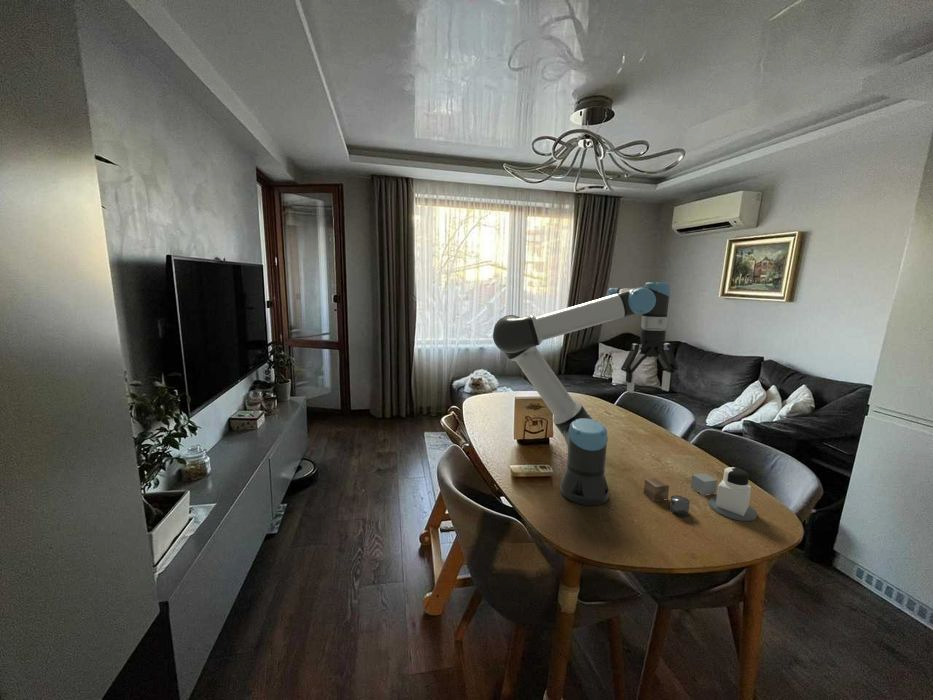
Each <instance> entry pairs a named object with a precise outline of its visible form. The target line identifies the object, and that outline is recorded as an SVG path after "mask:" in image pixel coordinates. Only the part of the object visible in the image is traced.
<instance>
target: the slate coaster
mask: <svg viewBox="0 0 933 700" xmlns="http://www.w3.org/2000/svg"><path fill="white" fill-rule="evenodd" d="M716 500H717V496H713V497H710V498H709V500H708V505H710V506H709V507H710V508H712V509H711V510H713V511H714V512H715V511H716V512H715V513H717V514H718V513H719V515H720V514H721V515H720V516H722V517H725V518H727V519H731V520H734V521H739V522H752V521H755V520H756V519H757V516H758V515H757V514H758V513H757V511H756V509H754V508H753V507H752V506H751V505H749V507H748V509H747V511H746V513H745V515H744V516H741V515H738V514H736V513H733V512H730V511H727V510H724V509H721V508H719V507H716Z"/></svg>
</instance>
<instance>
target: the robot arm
mask: <svg viewBox="0 0 933 700" xmlns="http://www.w3.org/2000/svg"><path fill="white" fill-rule="evenodd" d="M670 290H671V289H670V284H669V283H668V282H664V281H663V282H658V281H657V282H656V281H655V282H649V281H648V282H645V284H644V286H643V287H641V286H639V287H610V288H608V290H607V291H606V294H605V296H604V297H601V298H598V299H593V300H591V301H587V302H583V303H581V304H576V305H574V306H569V307H567V308H564V309H559V310H556V311H553V312H549V313H546V314H543V315H539V316H534V315H532V314H530V315H527V316H524V317H520V316H517V315H515V314H514V315H513V314H508V315H505V316H503V317H501V318H499V319H498V320H497V321H496V323H495V324H494V327H493V330H492V332H493V333H492V340H493V342H494V344H495V346H496V348H498V349H499V350H500V351H501V352H503V353H504V354H505V355H506V357H507V358H508V360H509V361H513V362H516V364H517V365H518V367H519V368H520V369H521V371H522V372H523V374H524V375H525V377H526V378H527V379H528V381H529V382H530V384H531V385H532V386H533V388H534V389H535V391H536V392H537V393H538V394H539V397H540V398H541V399H542V401H543V403H544V404H545V406H547V408H548V409H549V410H550V412H551V413H552V415H553V419H552V422H553V424H554V425H555V426H556V428H557V429H558V430H559V432H560V433H561V435H562V436H563V438H564V440H565V443H566V445H567V461H566V469H565V472H564V474H563V477H562V479H561V481H560V484H559V485H560V487H559V490H560V493H561V495H562V497H564V498H565V499H567V500H569V501H570V502H573V503H575V504H579V505H583V506H589V507H590V506H599V505H603V504H605V503H607V502H608V500H609V496H610V495H609V493H610V491H609V490H610V489H609V486H608V482H607V478H606V475H605V474H606V473H605V471H606V459H607V447H608V440H609V436H608V430H607V427H606V426H605V425H604V424H603V423H602V422H600V421H597V420H595V419H593V418H592V416H591V415H590V414H589V413H588V411H587V410H586V409H585V408H584V406H583V405H582V403H581V402H576V401H574V399H573V398H572V396H571V395H570V394H569V392H568V391H567V389H566V388H565V386H564V385H563V384H562V382H561V380H560V379H559V378H558V376H557V375H556V374H555V372H554V370H553V369H552V368H551V366H550V365H549V363H548V362H547V361H546V359H545V358H544V356H543V355H542V353H541V352H540V350H538V348H537V346H539V345H541V344H542V342H543V341H546V340H549V339H553V338H556V337H560V336H563V335H567V334H570V333H573V332H577V331H582V330H584V329H587V328H591V327H595V326H598V325H600V324H605V323H608V322H611V321H615V320H618V319H619V320H620V319H621V318H627V317H630V316H634V315H642V316H641V323H640V324H641V325H640V327H641V328H642V329H640V336H639V337H640V339H639V340H640V344H638V343H631V347H630V351H629V353H628V354H627V356H626V358H625V360H624V362H623V363H622V366H621V368H620V370H621V371H623V372H625V382H626V391H627V392H629V393H630V394H634V391H635V381H636V373H634V372H635V371H636V370H637V368H638V367H639V366H640V365H641V363H643V362H644V360H646V359H647V358H653V357H654V358H656V359H657V360H658V361H659V362H660V364H661V366H662V367H663V369H664V370H662V381H661V390H662V391H666V392H669V391H670V382H672V378H673V377H672V376H673V374H674V373H675V372H676V371H677V370H679V366H678V363H677V360H676V357H675V355H674V352H673V344H672V343H668V342H665V341H666V336H667V335H666V334H667V332H666V329H667V322H668V312H669V305H670V304H669V303H670V297H671V295H670V293H671V292H670ZM663 350H664V352H663Z"/></svg>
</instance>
